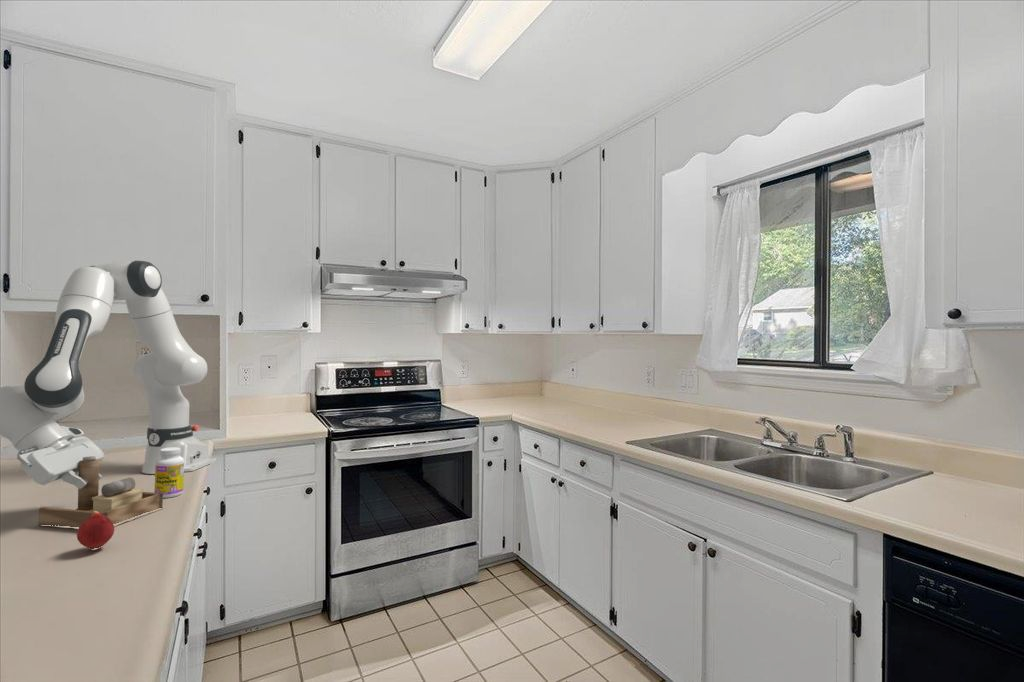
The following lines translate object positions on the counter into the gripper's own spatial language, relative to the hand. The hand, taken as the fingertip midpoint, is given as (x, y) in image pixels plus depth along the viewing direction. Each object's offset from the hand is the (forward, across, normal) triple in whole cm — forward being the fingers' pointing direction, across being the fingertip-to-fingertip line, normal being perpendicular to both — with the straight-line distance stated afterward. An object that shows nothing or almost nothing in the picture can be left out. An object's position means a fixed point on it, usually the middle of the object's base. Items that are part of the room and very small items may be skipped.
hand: (91, 483), depth 123 cm
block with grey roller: (+11, -3, 0) cm, 11 cm away
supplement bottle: (+13, +16, -2) cm, 20 cm away
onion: (+15, -23, -4) cm, 28 cm away
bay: (+8, -2, +3) cm, 9 cm away
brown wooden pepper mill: (+4, 0, +5) cm, 7 cm away
